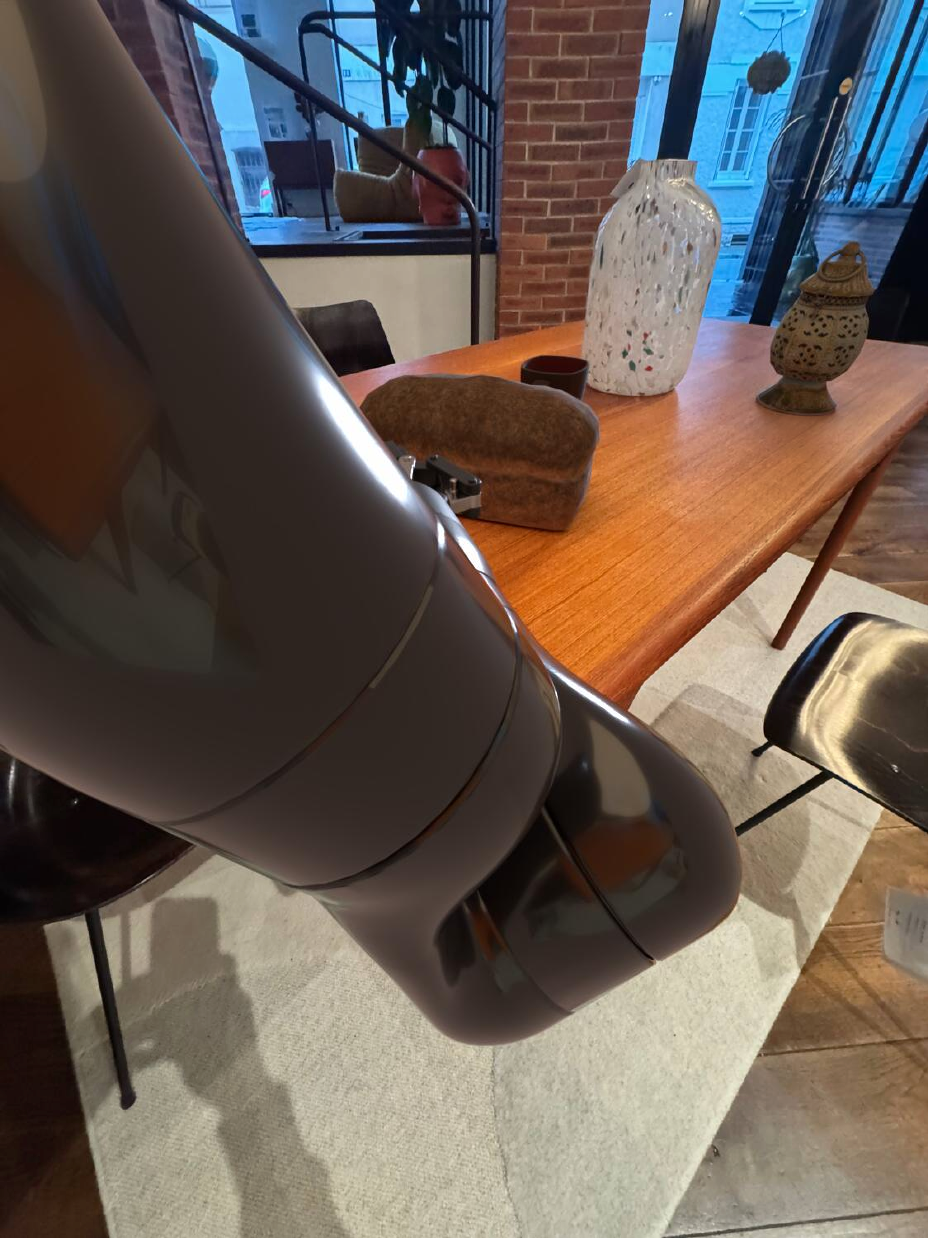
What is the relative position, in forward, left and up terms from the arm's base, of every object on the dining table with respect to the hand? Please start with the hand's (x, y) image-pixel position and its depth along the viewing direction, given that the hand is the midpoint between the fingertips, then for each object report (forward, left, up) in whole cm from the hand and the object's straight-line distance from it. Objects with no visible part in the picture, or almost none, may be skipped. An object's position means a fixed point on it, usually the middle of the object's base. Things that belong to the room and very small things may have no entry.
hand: (356, 458), depth 41 cm
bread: (+6, +29, -18) cm, 34 cm away
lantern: (+63, +70, -18) cm, 96 cm away
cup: (+16, +47, -18) cm, 53 cm away
